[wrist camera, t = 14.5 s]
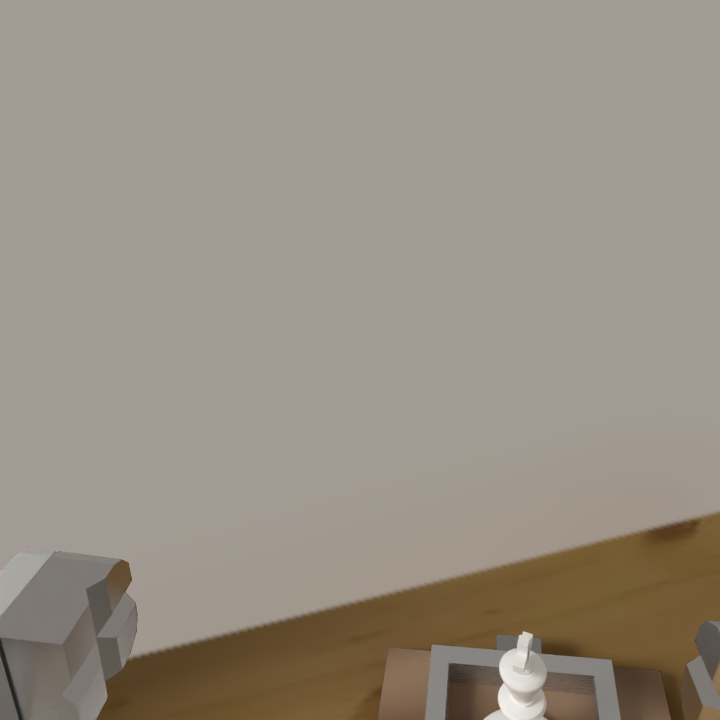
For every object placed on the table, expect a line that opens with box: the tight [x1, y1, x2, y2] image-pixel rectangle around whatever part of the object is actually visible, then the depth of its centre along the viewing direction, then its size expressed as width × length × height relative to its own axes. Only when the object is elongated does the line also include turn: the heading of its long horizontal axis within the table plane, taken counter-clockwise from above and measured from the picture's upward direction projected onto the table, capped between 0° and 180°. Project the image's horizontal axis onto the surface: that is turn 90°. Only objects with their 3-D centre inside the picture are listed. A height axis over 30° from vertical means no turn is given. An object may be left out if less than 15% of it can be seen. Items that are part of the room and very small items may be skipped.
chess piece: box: [484, 631, 547, 720], centre depth 30 cm, size 5×5×10 cm
